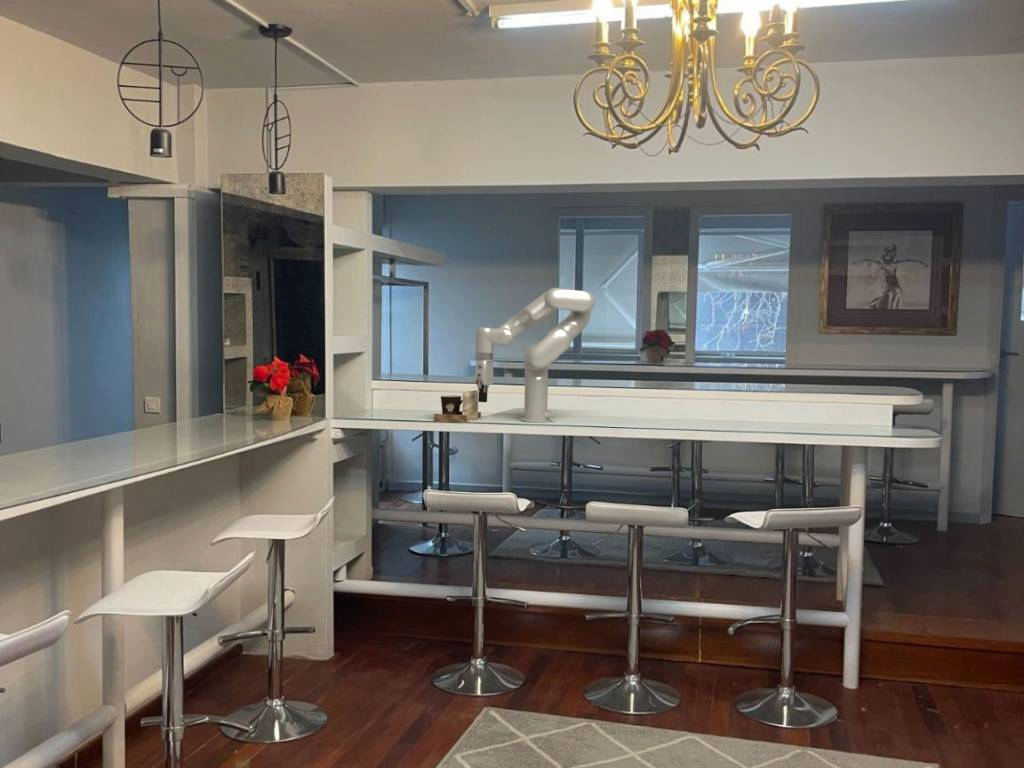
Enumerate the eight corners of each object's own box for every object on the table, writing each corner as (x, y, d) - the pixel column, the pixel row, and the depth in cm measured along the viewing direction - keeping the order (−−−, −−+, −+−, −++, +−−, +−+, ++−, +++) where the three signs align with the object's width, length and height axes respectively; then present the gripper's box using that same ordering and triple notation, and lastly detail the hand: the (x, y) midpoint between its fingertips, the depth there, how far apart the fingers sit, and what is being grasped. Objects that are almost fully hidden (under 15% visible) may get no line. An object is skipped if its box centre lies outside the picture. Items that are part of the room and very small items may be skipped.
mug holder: (480, 419, 403) (480, 412, 403) (466, 423, 387) (466, 415, 387) (450, 417, 407) (450, 410, 407) (434, 421, 391) (434, 414, 391)
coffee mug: (436, 420, 396) (436, 396, 396) (447, 418, 404) (447, 394, 403) (460, 421, 391) (461, 397, 390) (471, 420, 399) (471, 396, 398)
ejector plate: (477, 419, 401) (478, 390, 401) (465, 422, 388) (466, 392, 388) (474, 418, 402) (474, 390, 401) (462, 421, 389) (462, 392, 388)
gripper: (486, 358, 383) (484, 403, 384) (499, 357, 397) (497, 401, 399) (469, 357, 386) (467, 402, 387) (482, 356, 400) (480, 400, 401)
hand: (482, 401), depth 393 cm, fingers closed
